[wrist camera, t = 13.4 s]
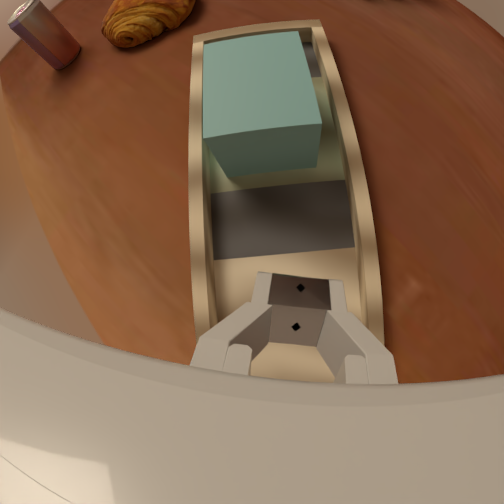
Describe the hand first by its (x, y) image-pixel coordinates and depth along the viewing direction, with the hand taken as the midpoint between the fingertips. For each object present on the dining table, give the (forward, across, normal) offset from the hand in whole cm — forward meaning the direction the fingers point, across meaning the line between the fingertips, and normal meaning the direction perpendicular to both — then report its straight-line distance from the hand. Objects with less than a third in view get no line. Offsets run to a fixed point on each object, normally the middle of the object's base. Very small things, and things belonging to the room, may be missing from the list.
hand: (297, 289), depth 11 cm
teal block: (+20, +3, -2) cm, 21 cm away
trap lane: (+17, +2, +2) cm, 18 cm away
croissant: (+37, +22, -17) cm, 46 cm away
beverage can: (+35, +38, -14) cm, 54 cm away
